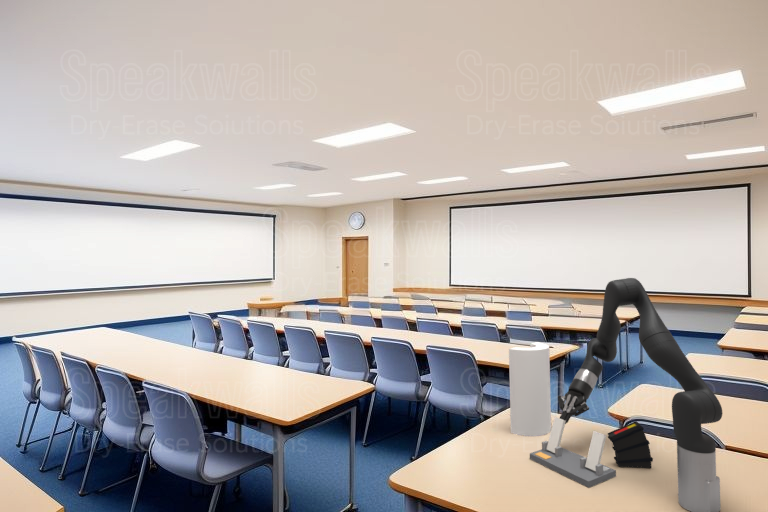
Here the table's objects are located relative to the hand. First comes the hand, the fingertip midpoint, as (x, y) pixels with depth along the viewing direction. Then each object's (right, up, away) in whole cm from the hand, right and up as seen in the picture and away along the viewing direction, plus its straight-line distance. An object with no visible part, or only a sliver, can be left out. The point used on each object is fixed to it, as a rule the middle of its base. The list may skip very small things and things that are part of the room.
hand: (562, 422), depth 165 cm
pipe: (-2, -12, +24) cm, 27 cm away
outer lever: (-5, -9, -3) cm, 11 cm away
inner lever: (+3, -9, -17) cm, 20 cm away
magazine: (+20, -12, -10) cm, 25 cm away
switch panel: (-1, -12, -10) cm, 15 cm away
